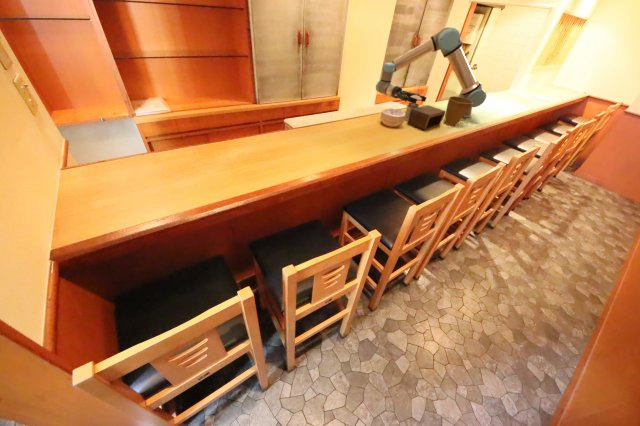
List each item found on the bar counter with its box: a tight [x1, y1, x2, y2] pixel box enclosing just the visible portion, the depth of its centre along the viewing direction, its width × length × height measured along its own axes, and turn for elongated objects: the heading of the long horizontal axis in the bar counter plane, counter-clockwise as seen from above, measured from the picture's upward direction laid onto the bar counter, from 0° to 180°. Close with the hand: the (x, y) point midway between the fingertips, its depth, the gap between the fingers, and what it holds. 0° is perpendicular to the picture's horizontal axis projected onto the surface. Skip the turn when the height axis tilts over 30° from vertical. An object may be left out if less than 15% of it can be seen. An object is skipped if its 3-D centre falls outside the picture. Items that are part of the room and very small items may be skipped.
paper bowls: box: [379, 107, 405, 128], centre depth 157 cm, size 15×15×8 cm
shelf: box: [406, 105, 446, 132], centre depth 160 cm, size 19×13×10 cm
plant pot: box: [444, 95, 473, 126], centre depth 166 cm, size 15×15×16 cm
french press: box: [404, 79, 424, 121], centre depth 163 cm, size 10×12×25 cm
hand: (420, 100), depth 160 cm, fingers open, 10 cm apart
